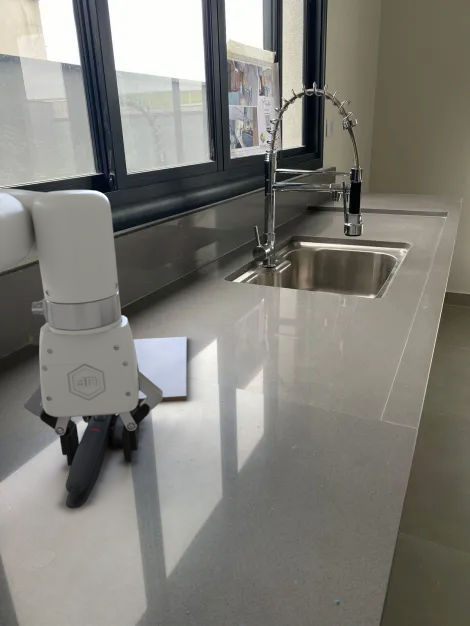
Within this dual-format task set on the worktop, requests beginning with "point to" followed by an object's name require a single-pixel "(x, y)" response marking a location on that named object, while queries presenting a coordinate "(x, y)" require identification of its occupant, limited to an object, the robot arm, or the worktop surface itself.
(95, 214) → the robot arm
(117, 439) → the can opener
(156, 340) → the cutting board
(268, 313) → the worktop surface
